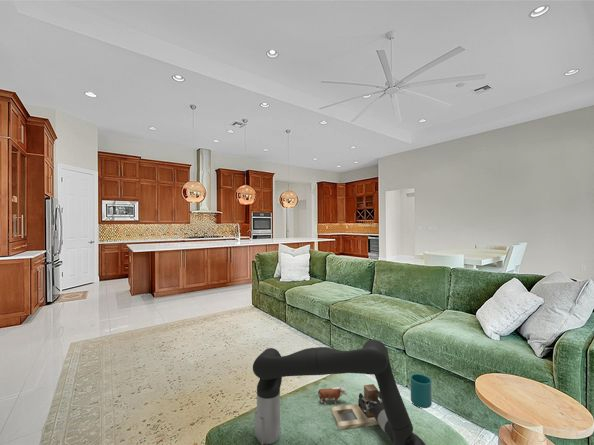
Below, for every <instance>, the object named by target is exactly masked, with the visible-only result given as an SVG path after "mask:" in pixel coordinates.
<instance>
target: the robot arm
mask: <svg viewBox="0 0 594 445" xmlns="http://www.w3.org/2000/svg"><path fill="white" fill-rule="evenodd" d="M389 357H390V356H389V351H388V348H387V347H386V345H385V344H384V343H383V342H381V341H380V340H378V339H374V338H372V339H369V340H367V341H366V342H365V343H364V344H363V346H362V347H361V348H357V349H352V350H340V349H336V348H331V347H328V346H327V347H326V346H319V347H318V346H316V347H308V348H304V349H301V350H299V351H296V352H293V353H290V354H288V355H287V354H286V355H281V353H280V352H279V350H278V349H276V348H273V347H268V348H266V349H265V350H264V351H262V352H261V353H260V354H259V355H258V356H257V357H256V358H255V360H254V361H253V365H252V372H253V374H254V375H255V376H256V377H257V378H258V379H259V380H258V383H257V385H256V411H254V437H255V438H256V440H257V441H258V442H259V444H260V445H271V444H275V443H276V442H277V441H278V440H279V439H280V437H281V386H282V381H283V378H285V377H297V376H298V377H299V376H300V377H302V376H324V375H325V376H326V375H327V376H328V375H341V374H360V375H361V374H362V375H374V376H375V377H374V378H375V379H376V383H377V386H378V400H376V401H372V400H370V399H365V398H364V394H362V393H361V392H360V393H358V402H357V404H358V406H359V407H360V409H361V410H362V412H363V413H364V414H367V412H368V411H370V412H371V413H373V416H374V418H375V419H376V421H377V422H378V424H379V425H378V426H379V427H380V428H381V430H382V431H383V432H384V433H385V434H386V436H387V437H388V439H389V441H390V442H391V444H392V445H427V444H426V443H425V441H423V439H422V438H421V437H420V436H418V435H417V434H416V433H414V432H413V431H414V426H413V424H412V421H411V418H410V416H409V413H408V411H407V408H406V405H405V403H404V400H403V398H402V396H401V393H400V391H399V387H398V386H397V382H396V379H395V376H394V373H393V369H392V366H391V361H390V358H389ZM365 402H366V403H365ZM369 403H370V406H369Z"/></svg>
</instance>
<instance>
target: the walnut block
mask: <svg viewBox="0 0 594 445" xmlns="http://www.w3.org/2000/svg"><path fill="white" fill-rule="evenodd" d="M378 391H379V388H377V386H376V385H375V384H374V383H373V384H364V385H363V396H364V398H365V399H370V400H372V401H376V400H379V397H378ZM365 403H366V402H365ZM369 406H370V403H369ZM365 415H366V416H367V418H372V417H374V416H373V413H371V412H370V411H368V412H367V414H365Z"/></svg>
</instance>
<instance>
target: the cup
mask: <svg viewBox="0 0 594 445" xmlns="http://www.w3.org/2000/svg"><path fill="white" fill-rule="evenodd" d="M432 390H433V389H432V379H431V378H430V377H429V376H427V375H425V374H421V373H413V374H411V375H410V401H411V403H412V404H413V405H414V406H415V407H418V408H421V409H429V408H431V407H432V405H433V404H432V402H433V399H432V398H433V397H432Z"/></svg>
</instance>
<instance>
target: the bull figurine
mask: <svg viewBox="0 0 594 445" xmlns="http://www.w3.org/2000/svg"><path fill="white" fill-rule="evenodd" d="M317 394H318V396H319V401H320V402H321V404H324V405H327V402H326V399H327V400H328V401H330V400H333V399H334V404H335V405H337V402H338V401H339V399H340V398H341V397H342V396H345V395H346V396H347V394H348V392H347V390H346V388H345V387H344V386H336V387H329V388H321V389H319V390H318V392H317Z"/></svg>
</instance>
